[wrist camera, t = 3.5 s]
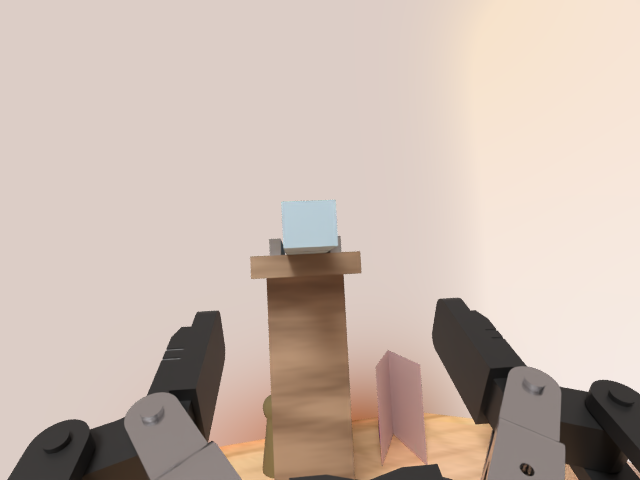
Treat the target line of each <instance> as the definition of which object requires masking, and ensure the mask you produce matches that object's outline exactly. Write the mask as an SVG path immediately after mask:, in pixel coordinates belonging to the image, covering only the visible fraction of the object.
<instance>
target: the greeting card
mask: <svg viewBox="0 0 640 480" xmlns="http://www.w3.org/2000/svg"><path fill="white" fill-rule="evenodd" d="M376 379H377V396H378V412H379V438H380V445H381V461H382V466H383V463H384V460H385V457H386V454H387V451H388V448H389V446H390V443H391V440H392V437H393V434H394V435H395V436H396V437H397V438H398V439H399V440H400V441H401V442H402V443H403V444H404V445H406V446H407V447H408V448H409V449H410V450H411V451H412V452H413V453H414V454H415V455H416V456H417V457H418V458H420V459H421V460H422V461H423V462H424V463H425V464H426V465H427V454H426V440H425V426H424V412H423V398H422V384H421V370H420V365H419V364H417V363H415V362H413V361H411V360H408V359H406V358H404V357H402V356H399V355H397V354H395V353H393V352H391V351H389V350H388V351H387V352H386V353H385V355H384V356H383V358H382V359H381V360H380V361H379V363H378V364H377V366H376Z"/></svg>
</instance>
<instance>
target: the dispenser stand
mask: <svg viewBox="0 0 640 480" xmlns="http://www.w3.org/2000/svg"><path fill="white" fill-rule="evenodd" d="M269 244H270V256H254V257H250V258H251V279H260V278H267V296H268V297H267V298H268V324H269V349H270V374H271V400H272V426H273V451H274V476H275V480H289V478H293V477H304V476H315V475H326V474H327V475H333V476H338V477H344V478H350V479H355V472H354V454H353V437H352V419H351V401H350V383H349V365H348V347H347V332H346V331H347V329H346V312H345V294H344V276H343V274H355V273H361V259H360V252H359V251H357V252H341V239H340V236H338V246H337V247H335V248H333V249H331V250H330V251H328V252H326V253H316V254H295V255H285V250H284V248H283V244H282V241H281V239H270V240H269Z"/></svg>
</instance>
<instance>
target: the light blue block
mask: <svg viewBox="0 0 640 480" xmlns="http://www.w3.org/2000/svg"><path fill="white" fill-rule="evenodd" d="M281 203H282V224H283V248H284V250H285V253H286V254H287V255H295V254H316V253H326V252H328V251H330V250H331V249H333V248H335V247H337V246H338V236H337V220H336V202H335V200H318V201H292V202H281Z"/></svg>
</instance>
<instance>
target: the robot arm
mask: <svg viewBox="0 0 640 480" xmlns="http://www.w3.org/2000/svg"><path fill="white" fill-rule="evenodd" d="M432 339H433V344H434V347H435V350H436V352H437V353H438V355H439V357H440V359H441V361H442V363H443V365H444V366H445V368H446V370H447V372H448V374H449V375H450V377H451V379H452V381H453V383H454V385H455V387H456V388H457V390H458V392H459V394H460V396H461V398H462V400H463V401H464V403H465V405H466V407H467V409H468V411H469V413H470V414H471V416H472V418H473V420H474V422H475V424H486V423H489V424H490V425H491V427H492V429H493V430H492V433H491V437H490V441H489V446H488V450H487V455H486V459H485V464H484V468H483V472H482V477H481V480H565V464H569V465H570V467H571V468H572V470H573V471H574V473H575V474H576V476H577V478H578V479H579V480H640V479H639V477H638V476H637V475H636V474H635V472H634V471H633V470H632V469H631V468H630V466H629V465H628V464H627V463H626V462H627V460H628V459H629V460H630V461H631V463H632V464H633V465H634V466H635V468H636V469H637V470H638V471H639V472H640V394H639V393H637V392H636V391H634V390H633V389H631V388H629V387H627V386H625V385H623V384H620V383H617V382H614V381H609V380H598V381H595V382H593V383H592V385H591V387H590V390H589V392H585V391H580V390H574V389H569V388H563V387H559V385H558V384H557V382H556V381H555V380H554V379H553V378H552V377H550V376H549V375H548V374H546V373H544V372H542V371H540V370H538V369H535V368H532V367H527V366H526V365H525V363H524V362H523V361H522V360H521V359H520V357H519V356H518V355H517V354H516V353H515V351H514V350H513V349H512V348H511V346H510V345H509V344H508V343H507V342H506V340H505V339H503V337H502V335H501V334H500V333H499V332H498V331H496V328H495V327H494V326H493V324H492V323H491V322H490V321H489V320H488V319H487V318H486V317H484V316H483V315H481V314H480V313H479V312H477V311H476V310H474V311H470V309H469V308H468V307H467V306H466V304H465V303H464V302H463V300H462V299H461V298H446V299H439V300H438V301H437V306H436V312H435V318H434V324H433V331H432ZM224 360H225V344H224V337H223V330H222V323H221V317H220V312H219V311H204V312H197V314H196V315H195V318H194V321H193V324H192V327H181V328H180V329H179V330H178V331H177V332H176V333H175V334H174V336H172V337H171V339H170V342H169V345H168V347H167V351H166V352H165V354H164V356H163V360H162V361H161V363H160V366H159V368H158V371H157V373H156V375H155V378H154V380H153V382H152V385H151V387H150V389H149V392H148V394H147V396H146V397H143V398H142V399H140V400H139V401H137V402H136V403H135V404H134V405H133V406H132V407H131V408H130V409H129V410H128V412H127V414H126V416H125V417H124V418H122V419H120V420H117V421H115V422H111V423H109V424H105V425H102V426H100V427H96V428H93V429H89V426H88V425H87V423H85V422H84V421H81V420H76V419H74V420H66V421H62V422H59V423H57V424H55V425H53V426H51V427H49V428H47V429H46V430H44V431H43V432H41V433H40V434H39V435H38V436H37V437H35V438H34V439H33V441H32V442H31V443H30V444H29V446H28V447H27V449H26V450H25V452H24V454H23V455H22V457H21V458H20V460H19V462H18V463H17V465H16V467H15V468H14V470H13V471H12V473H11V475H10V476H9V478H8V480H242V479H241V478H240V476H239V475H238V474H237V472H236V471H235V469H234V468H233V466H232V465H231V464H230V462H229V461H228V459H227V458H226V457H225V455H224V454H223V452H222V451H221V450H220V448H219V447H218V445H217V444H216V443H214V442H213V441H211V442H209V443H208V440H209V435H210V430H211V425H212V420H213V415H214V411H215V405H216V400H217V396H218V391H219V386H220V381H221V376H222V371H223V366H224ZM289 480H356V479H350V478H344V477H338V476H333V475H327V474H326V475H315V476H304V477H293V478H289ZM371 480H452V479H449V478H444V477H442V475H441V472H440V470H439V467H438V464H433V465H423V466H412V467H402V468H399V469H397V470H394V471H391V472H389V473H386V474H384V475H381V476H379V477H376V478H374V479H371Z"/></svg>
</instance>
